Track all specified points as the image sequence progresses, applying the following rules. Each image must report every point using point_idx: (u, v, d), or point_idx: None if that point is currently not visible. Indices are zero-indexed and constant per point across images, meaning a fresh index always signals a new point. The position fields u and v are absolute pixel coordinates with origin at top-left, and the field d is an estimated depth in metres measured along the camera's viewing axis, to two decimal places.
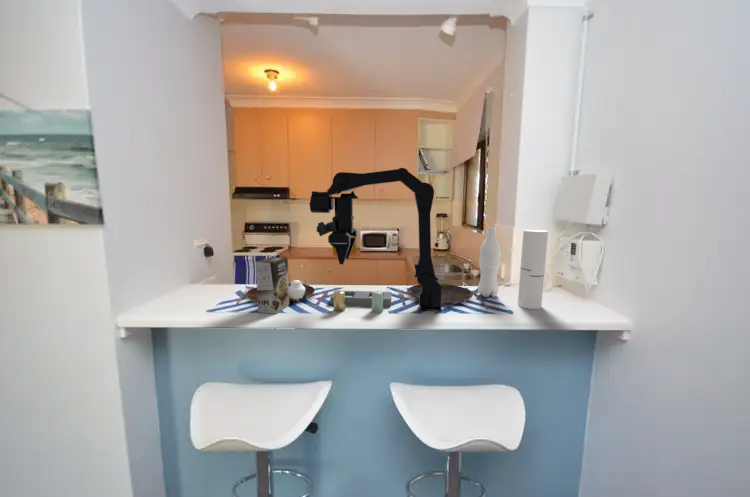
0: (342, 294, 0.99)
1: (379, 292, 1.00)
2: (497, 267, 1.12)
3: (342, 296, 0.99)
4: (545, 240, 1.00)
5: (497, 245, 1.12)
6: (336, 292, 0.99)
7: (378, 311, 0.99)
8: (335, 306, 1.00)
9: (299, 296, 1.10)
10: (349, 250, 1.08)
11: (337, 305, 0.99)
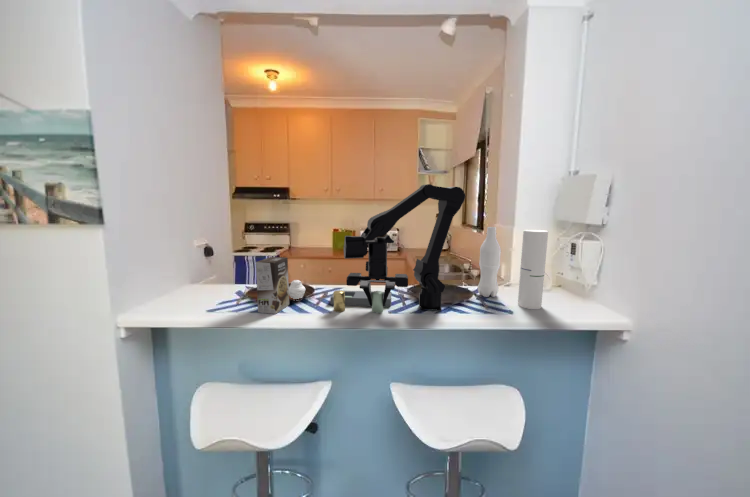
0: (342, 294, 0.99)
1: (379, 292, 1.00)
2: (497, 267, 1.12)
3: (342, 296, 0.99)
4: (545, 240, 1.00)
5: (497, 245, 1.12)
6: (336, 292, 0.99)
7: (378, 311, 0.99)
8: (335, 306, 1.00)
9: (299, 296, 1.10)
10: (383, 298, 0.99)
11: (337, 305, 0.99)
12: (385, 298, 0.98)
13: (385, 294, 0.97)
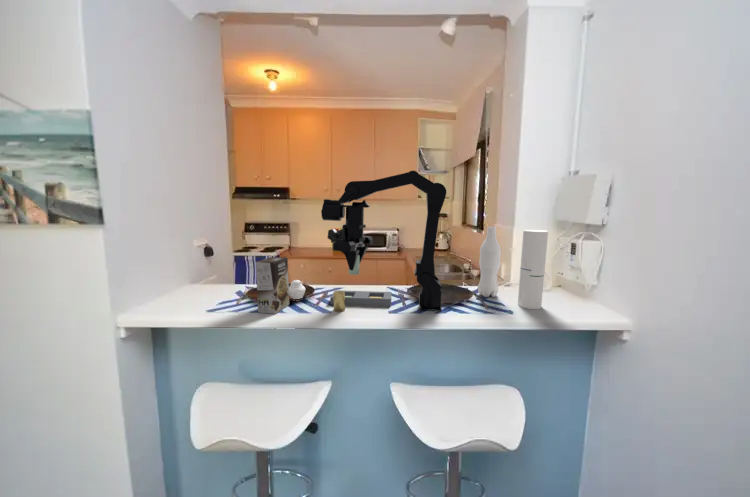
0: (342, 294, 0.99)
1: None
2: (497, 267, 1.12)
3: (342, 296, 0.99)
4: (545, 240, 1.00)
5: (497, 245, 1.12)
6: (336, 292, 0.99)
7: None
8: (335, 306, 1.00)
9: (299, 296, 1.10)
10: None
11: (337, 305, 0.99)
12: (361, 258, 1.06)
13: (363, 254, 1.06)
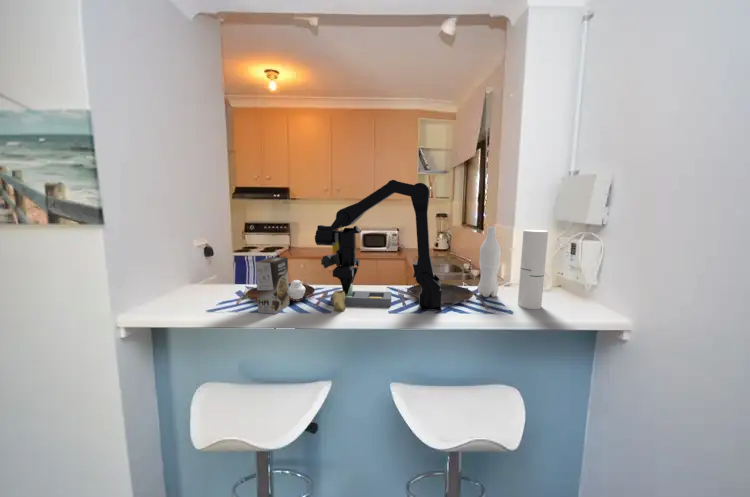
0: (342, 294, 0.99)
1: None
2: (497, 267, 1.12)
3: (342, 296, 0.99)
4: (545, 240, 1.00)
5: (497, 245, 1.12)
6: (336, 292, 0.99)
7: None
8: (335, 306, 1.00)
9: (299, 296, 1.10)
10: (351, 281, 1.12)
11: (337, 305, 0.99)
12: (353, 279, 1.12)
13: None
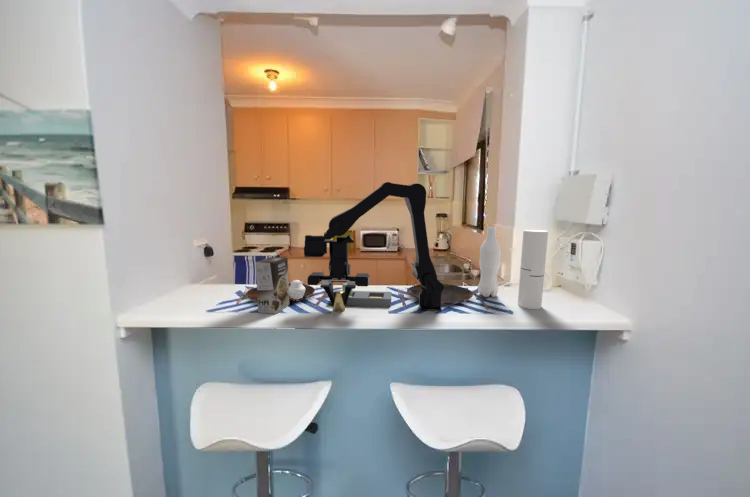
0: (342, 294, 0.99)
1: None
2: (497, 267, 1.12)
3: (342, 296, 0.99)
4: (545, 240, 1.00)
5: (497, 245, 1.12)
6: (336, 292, 0.99)
7: None
8: (335, 306, 1.00)
9: (299, 296, 1.10)
10: (344, 298, 0.99)
11: (337, 304, 0.99)
12: (346, 297, 0.99)
13: (346, 293, 0.98)
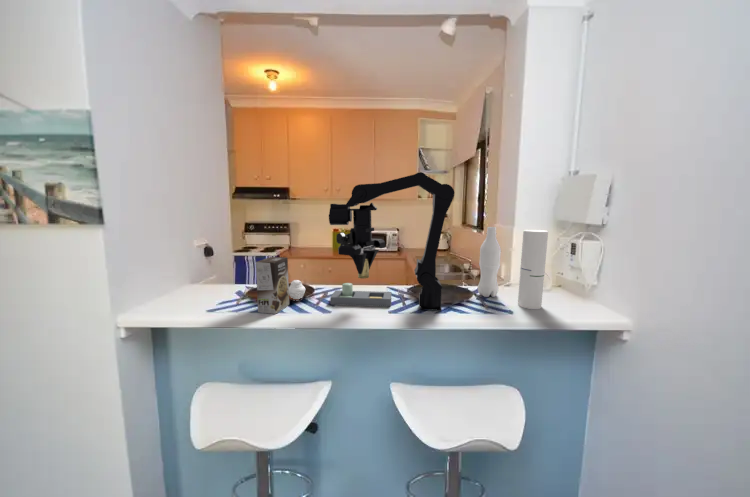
0: None
1: (347, 283, 1.10)
2: (497, 267, 1.12)
3: None
4: (545, 240, 1.00)
5: (497, 245, 1.12)
6: None
7: None
8: (365, 273, 1.03)
9: (299, 296, 1.10)
10: (369, 263, 1.05)
11: (367, 270, 1.03)
12: None
13: (373, 258, 1.04)
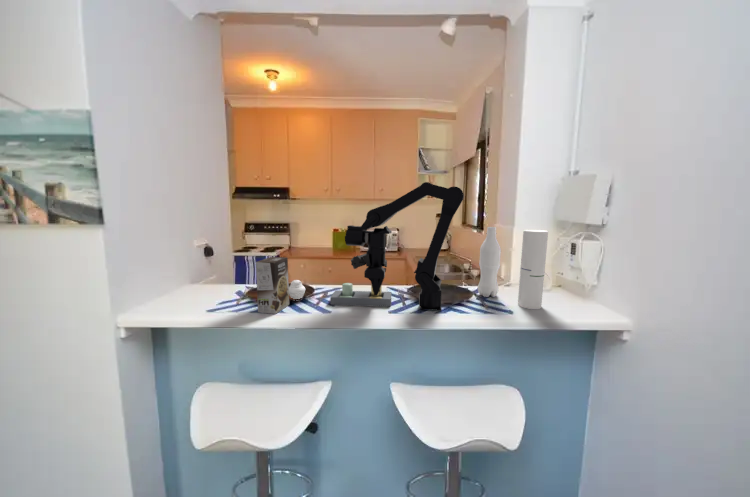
0: None
1: (347, 283, 1.10)
2: (497, 267, 1.12)
3: None
4: (545, 240, 1.00)
5: (497, 245, 1.12)
6: None
7: None
8: None
9: (299, 296, 1.10)
10: None
11: (381, 295, 1.09)
12: None
13: None
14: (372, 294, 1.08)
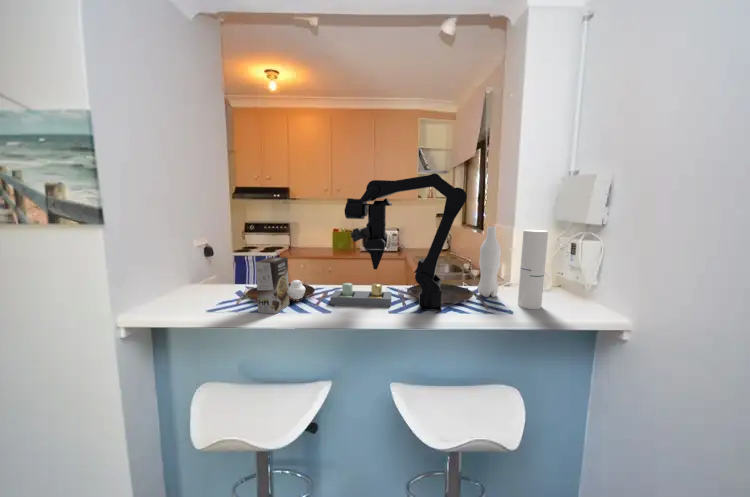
0: None
1: (347, 283, 1.10)
2: (497, 267, 1.12)
3: None
4: (545, 240, 1.00)
5: (497, 245, 1.12)
6: (379, 285, 1.07)
7: None
8: None
9: (299, 296, 1.10)
10: None
11: (381, 295, 1.09)
12: None
13: None
14: (372, 294, 1.08)
